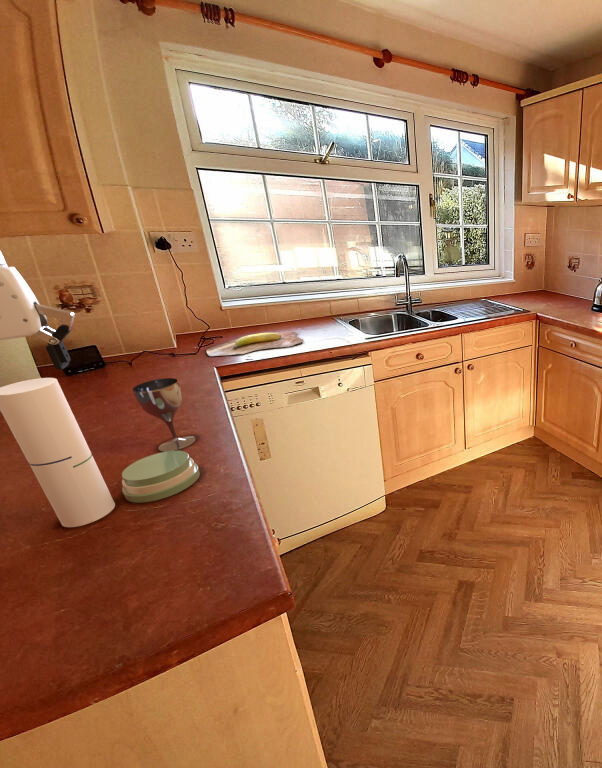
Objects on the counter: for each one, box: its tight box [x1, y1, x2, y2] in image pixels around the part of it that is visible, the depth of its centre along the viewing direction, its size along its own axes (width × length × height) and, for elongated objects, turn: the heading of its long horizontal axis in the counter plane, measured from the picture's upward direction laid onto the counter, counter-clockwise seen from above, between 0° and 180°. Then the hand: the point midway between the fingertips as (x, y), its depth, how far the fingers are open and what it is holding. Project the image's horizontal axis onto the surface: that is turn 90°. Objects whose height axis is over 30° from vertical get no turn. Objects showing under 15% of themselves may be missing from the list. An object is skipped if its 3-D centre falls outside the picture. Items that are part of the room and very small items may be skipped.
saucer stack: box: [121, 450, 201, 504], centre depth 83 cm, size 12×12×4 cm
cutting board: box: [205, 331, 305, 357], centre depth 174 cm, size 35×27×4 cm
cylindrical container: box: [0, 377, 116, 528], centre depth 71 cm, size 7×7×25 cm
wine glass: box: [132, 377, 197, 452], centre depth 96 cm, size 8×8×15 cm
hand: (21, 373), depth 66 cm, fingers open, 9 cm apart
